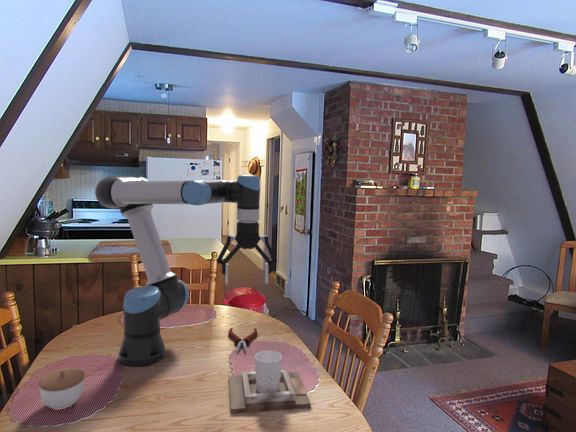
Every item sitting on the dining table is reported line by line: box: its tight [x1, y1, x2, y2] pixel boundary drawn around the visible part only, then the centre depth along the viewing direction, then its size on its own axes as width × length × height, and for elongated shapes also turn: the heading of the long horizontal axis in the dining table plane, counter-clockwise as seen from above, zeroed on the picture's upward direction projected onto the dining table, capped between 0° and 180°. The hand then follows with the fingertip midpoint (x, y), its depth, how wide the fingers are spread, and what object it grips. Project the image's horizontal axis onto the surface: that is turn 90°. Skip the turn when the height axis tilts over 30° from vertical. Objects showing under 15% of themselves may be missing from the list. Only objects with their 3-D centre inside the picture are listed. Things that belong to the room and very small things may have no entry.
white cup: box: [254, 350, 283, 393], centre depth 118 cm, size 8×8×10 cm
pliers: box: [227, 327, 258, 353], centre depth 153 cm, size 12×20×3 cm, turn 4°
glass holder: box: [228, 369, 312, 414], centre depth 118 cm, size 22×18×3 cm
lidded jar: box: [38, 367, 85, 409], centre depth 109 cm, size 11×11×9 cm
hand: (246, 283), depth 137 cm, fingers open, 13 cm apart
